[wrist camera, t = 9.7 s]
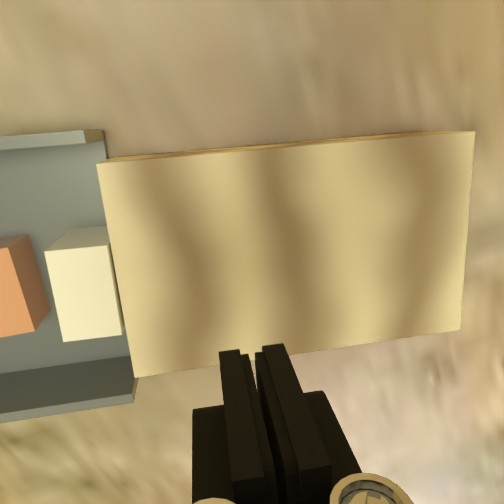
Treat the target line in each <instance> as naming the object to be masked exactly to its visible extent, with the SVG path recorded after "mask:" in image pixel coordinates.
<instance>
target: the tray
mask: <svg viewBox="0 0 504 504" xmlns="http://www.w3.org/2000/svg"><path fill="white" fill-rule="evenodd" d="M107 159H108V156H107V150H106V144H105V138H104V132H103V130H78V131H65V132H52V133H38V134H25V135H12V136H0V239H1V238H7V237H14V236H20V235H26V234H28V235H29V239H30V242H31V245H32V249H33V252H34V255H35V258H36V262H37V265H38V268H39V271H40V275H41V278H42V281H43V285H44V288H45V291H46V294H47V298H48V301H49V304H50V308H51V310H50V312H49V313H48V314H47V316H46V317H45V318H44V320H43V321H42V323H41V324H40V325H39V327H38V328H37V329H36V331H34V332H28V333H23V334H17V335H12V336H6V337H1V338H0V423H5V422H12V421H18V420H25V419H31V418H38V417H44V416H51V415H57V414H63V413H70V412H76V411H83V410H89V409H96V408H102V407H108V406H115V405H121V404H128V403H134V398H135V393H136V388H137V382H138V377H137V378H135V377H134V372H133V366H132V361H131V355H130V350H129V344H128V338H127V333H126V327H125V326H124V329H123V333H122V335H118V336H110V337H101V338H93V339H85V340H77V341H68V342H63V338H62V333H61V329H60V324H59V319H58V315H57V310H56V305H55V300H54V296H53V291H52V286H51V282H50V277H49V272H48V268H47V263H46V258H45V253H44V251H45V250H46V249H48V248H49V247H50V246H51V245H52V244H53V243H55V242H56V241H57V240H58V239H59V238H60V237H61V236H63V235H64V234H65V233H66V232H67V231H68V230H70V229H72V228H83V227H94V226H106V225H107V222H106V217H105V211H104V205H103V200H102V194H101V189H100V183H99V178H98V172H97V167H96V164H97V163H99V162H102V161H105V160H107Z"/></svg>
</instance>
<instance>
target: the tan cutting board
mask: <svg viewBox="0 0 504 504" xmlns="http://www.w3.org/2000/svg"><path fill="white" fill-rule="evenodd" d="M474 140H475V131H419V132H407V133H395V134H383V135H371V136H359V137H348V138H336V139H324V140H312V141H300V142H288V143H276V144H265V145H253V146H241V147H229V148H217V149H205V150H193V151H182V152H170V153H158V154H146V155H134V156H122V157H112V158H110V159H107V160H105V161H102V162H99V163H97V164H96V167H97V172H98V178H99V183H100V189H101V194H102V200H103V205H104V211H105V217H106V222H107V228H108V233H109V239H110V244H111V250H112V255H113V261H114V266H115V272H116V278H117V283H118V289H119V294H120V300H121V305H122V311H123V316H124V322H125V327H126V333H127V338H128V344H129V350H130V355H131V361H132V366H133V372H134V377H135V378H137V377H144V376H151V375H157V374H164V373H171V372H178V371H184V370H191V369H198V368H205V367H211V366H218V365H220V362H219V353H218V352H219V351H227V350H234V349H239V350H240V354H249V358H250V361H252V360H255V352H262V346H264V345H272V344H279V343H283V344H284V346H285V348H286V351H287V353H288V355H292V354H299V353H306V352H313V351H319V350H326V349H333V348H339V347H346V346H353V345H360V344H366V343H373V342H380V341H387V340H393V339H400V338H407V337H414V336H420V335H427V334H434V333H441V332H447V331H454V330H460V319H461V306H462V294H463V281H464V268H465V255H466V243H467V230H468V217H469V204H470V191H471V179H472V166H473V153H474Z"/></svg>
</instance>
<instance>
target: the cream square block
mask: <svg viewBox="0 0 504 504" xmlns="http://www.w3.org/2000/svg"><path fill="white" fill-rule="evenodd" d="M44 253H45V258H46V263H47V268H48V272H49V277H50V282H51V286H52V291H53V296H54V300H55V305H56V310H57V315H58V319H59V324H60V329H61V333H62V338H63V342H68V341H77V340H85V339H93V338H101V337H110V336H118V335H122V333H123V329H124V326H125V322H124V316H123V311H122V305H121V300H120V294H119V289H118V283H117V278H116V272H115V266H114V261H113V255H112V250H111V244H110V239H109V233H108V228H107V225H106V226H94V227H83V228H72V229H70V230H68V231H67V232H66V233H65V234H64V235H63V236H61V237H60V238H59V239H58V240H57V241H56V242H55V243H53V244H52V245H51V246H50V247H49V248H48V249H46V250H45V251H44Z"/></svg>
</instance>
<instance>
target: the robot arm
mask: <svg viewBox="0 0 504 504" xmlns="http://www.w3.org/2000/svg"><path fill="white" fill-rule="evenodd" d="M218 353H219V362H220V372H221V381H222V391H223V400H224V405H219V406H212V407H205V408H198V409H193V414H192V504H414V503H413V502H412V500H411V499H410V498H409V496H408V495H407V494H406V493H405V492H404V491H403V490H402V489H401V488H400V487H399V486H398V485H397V484H395V483H394V482H392V481H391V480H389V479H387V478H385V477H382V476H379V475H376V474H370V473H362V471H361V469H360V467H359V465H358V463H357V460H356V458H355V456H354V454H353V452H352V450H351V448H350V446H349V443H348V441H347V439H346V437H345V435H344V433H343V431H342V429H341V427H340V424H339V422H338V420H337V418H336V416H335V414H334V412H333V410H332V407H331V405H330V403H329V401H328V399H327V397H326V395H325V393H324V392H323V391H322V390H321V391H314V392H307V393H303V391H302V389H301V386H300V384H299V381H298V379H297V376H296V374H295V371H294V368H293V366H292V363H291V361H290V358H289V356H288V353H287V351H286V348H285V346H284V344H283V343H279V344H272V345H264V346H262V352H255V367H256V380H257V389H256V384H255V380H254V376H253V371H252V367H251V362H250V358H249V354H240V350H239V349H234V350H227V351H219V352H218ZM257 392H258V393H257Z"/></svg>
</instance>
